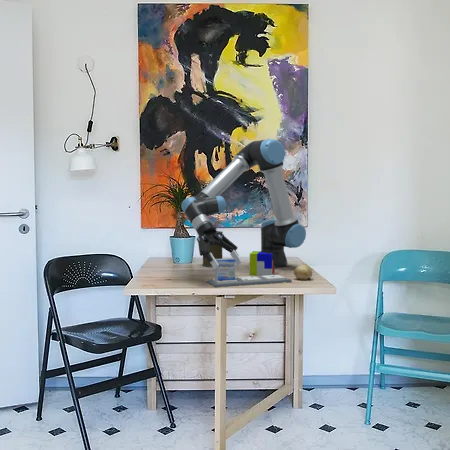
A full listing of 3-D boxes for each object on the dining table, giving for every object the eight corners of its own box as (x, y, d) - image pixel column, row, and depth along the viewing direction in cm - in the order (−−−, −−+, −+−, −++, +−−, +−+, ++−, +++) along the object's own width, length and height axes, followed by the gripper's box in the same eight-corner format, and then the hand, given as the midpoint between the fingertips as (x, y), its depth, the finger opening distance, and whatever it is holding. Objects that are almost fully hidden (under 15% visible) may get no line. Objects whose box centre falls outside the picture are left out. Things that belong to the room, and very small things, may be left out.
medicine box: (217, 280, 232) (217, 259, 232) (214, 279, 236) (214, 258, 236) (235, 279, 234) (235, 259, 234) (232, 278, 239) (232, 257, 238)
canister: (221, 267, 283) (220, 227, 282) (200, 266, 285) (200, 227, 283) (224, 264, 294) (224, 226, 292) (204, 263, 295) (204, 225, 294)
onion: (315, 280, 243) (315, 264, 243) (297, 281, 241) (297, 264, 241) (308, 277, 251) (308, 261, 250) (291, 278, 249) (291, 262, 249)
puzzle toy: (271, 276, 255) (271, 254, 255) (249, 275, 257) (249, 253, 257) (274, 272, 265) (274, 251, 265) (253, 272, 267) (253, 251, 267)
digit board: (279, 277, 250) (279, 273, 250) (291, 282, 239) (291, 277, 239) (206, 282, 239) (206, 278, 239) (215, 287, 228) (215, 282, 227)
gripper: (220, 231, 253) (244, 267, 244) (177, 234, 236) (201, 274, 226) (228, 220, 249) (253, 256, 240) (185, 222, 232) (210, 262, 222)
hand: (228, 265), depth 233 cm, fingers open, 13 cm apart
